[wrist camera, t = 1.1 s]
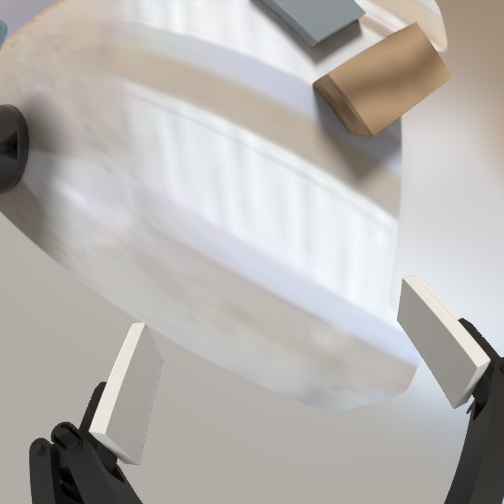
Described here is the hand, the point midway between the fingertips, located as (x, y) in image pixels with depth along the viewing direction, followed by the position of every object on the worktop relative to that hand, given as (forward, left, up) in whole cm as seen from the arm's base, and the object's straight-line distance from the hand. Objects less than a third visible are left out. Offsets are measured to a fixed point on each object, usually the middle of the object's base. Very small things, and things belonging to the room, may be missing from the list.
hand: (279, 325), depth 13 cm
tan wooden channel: (-3, +23, -24) cm, 34 cm away
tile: (-17, +23, -25) cm, 38 cm away
